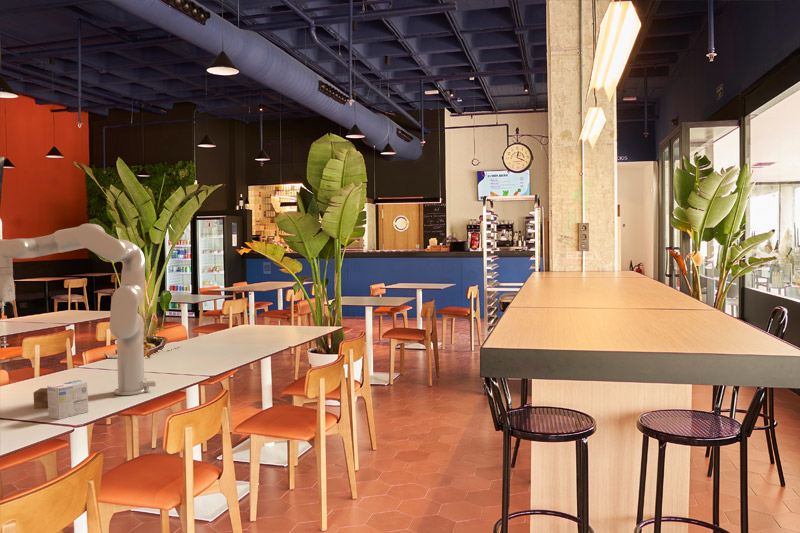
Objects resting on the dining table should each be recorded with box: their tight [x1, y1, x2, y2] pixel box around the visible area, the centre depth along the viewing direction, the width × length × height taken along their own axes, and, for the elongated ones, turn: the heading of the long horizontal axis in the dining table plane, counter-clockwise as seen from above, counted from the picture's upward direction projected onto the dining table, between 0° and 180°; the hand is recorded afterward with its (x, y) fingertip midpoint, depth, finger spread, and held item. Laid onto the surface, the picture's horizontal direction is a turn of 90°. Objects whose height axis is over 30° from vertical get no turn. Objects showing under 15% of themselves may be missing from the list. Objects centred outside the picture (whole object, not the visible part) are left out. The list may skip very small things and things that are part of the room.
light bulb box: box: [46, 379, 89, 420], centre depth 207 cm, size 11×7×11 cm, turn 149°
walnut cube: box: [33, 387, 48, 410], centre depth 219 cm, size 6×6×6 cm
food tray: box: [103, 335, 170, 359], centre depth 329 cm, size 35×26×11 cm
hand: (2, 317), depth 230 cm, fingers open, 9 cm apart
